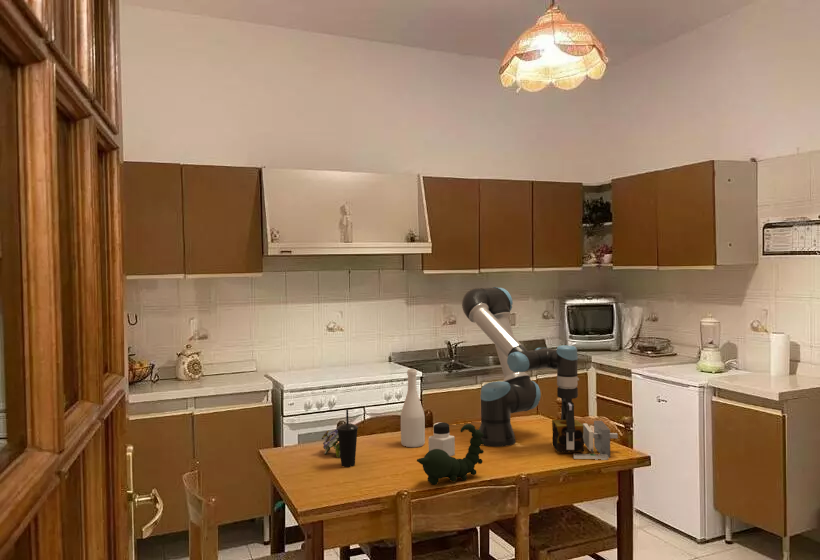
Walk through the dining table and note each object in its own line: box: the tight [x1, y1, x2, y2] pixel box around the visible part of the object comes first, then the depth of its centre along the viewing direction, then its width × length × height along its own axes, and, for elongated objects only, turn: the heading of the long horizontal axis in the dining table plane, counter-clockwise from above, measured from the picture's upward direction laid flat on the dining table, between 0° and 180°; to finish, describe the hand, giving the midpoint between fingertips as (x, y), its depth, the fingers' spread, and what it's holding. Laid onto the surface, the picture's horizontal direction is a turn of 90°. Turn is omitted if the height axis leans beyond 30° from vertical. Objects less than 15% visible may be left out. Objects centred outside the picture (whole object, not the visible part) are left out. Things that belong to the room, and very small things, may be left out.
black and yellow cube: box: [551, 419, 585, 453], centre depth 239 cm, size 10×10×10 cm
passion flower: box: [321, 428, 341, 459], centre depth 241 cm, size 11×11×12 cm
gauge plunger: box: [582, 423, 619, 454], centre depth 237 cm, size 12×16×7 cm
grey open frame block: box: [572, 420, 611, 461], centre depth 237 cm, size 14×18×10 cm
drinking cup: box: [336, 408, 359, 468], centre depth 227 cm, size 8×8×20 cm
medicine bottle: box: [428, 421, 456, 457], centre depth 237 cm, size 7×7×12 cm
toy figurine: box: [416, 423, 484, 486], centre depth 208 cm, size 9×19×25 cm
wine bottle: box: [400, 368, 426, 448], centre depth 252 cm, size 10×10×30 cm
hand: (568, 445), depth 240 cm, fingers closed on black and yellow cube, 10 cm apart
